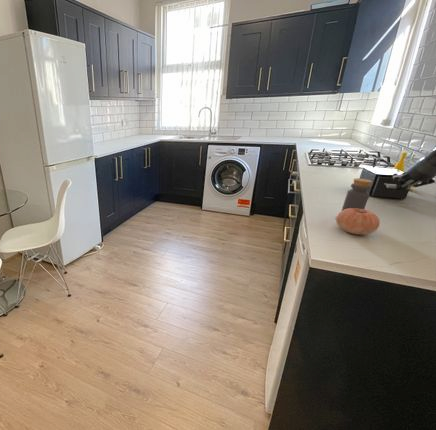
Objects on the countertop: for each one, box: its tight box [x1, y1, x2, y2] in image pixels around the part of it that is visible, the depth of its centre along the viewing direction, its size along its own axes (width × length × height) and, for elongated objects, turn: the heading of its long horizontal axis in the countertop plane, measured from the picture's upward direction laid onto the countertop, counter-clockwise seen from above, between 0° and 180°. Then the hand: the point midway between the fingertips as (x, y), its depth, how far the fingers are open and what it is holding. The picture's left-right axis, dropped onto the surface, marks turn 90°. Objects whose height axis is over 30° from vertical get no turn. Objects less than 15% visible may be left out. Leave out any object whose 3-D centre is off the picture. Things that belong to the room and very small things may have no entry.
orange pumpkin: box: [335, 208, 381, 236], centre depth 90 cm, size 11×11×8 cm
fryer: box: [359, 166, 405, 200], centre depth 128 cm, size 15×13×10 cm
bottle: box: [341, 177, 372, 211], centre depth 97 cm, size 6×6×15 cm
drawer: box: [372, 176, 411, 199], centre depth 124 cm, size 18×11×8 cm, turn 158°
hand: (399, 189), depth 115 cm, fingers closed
